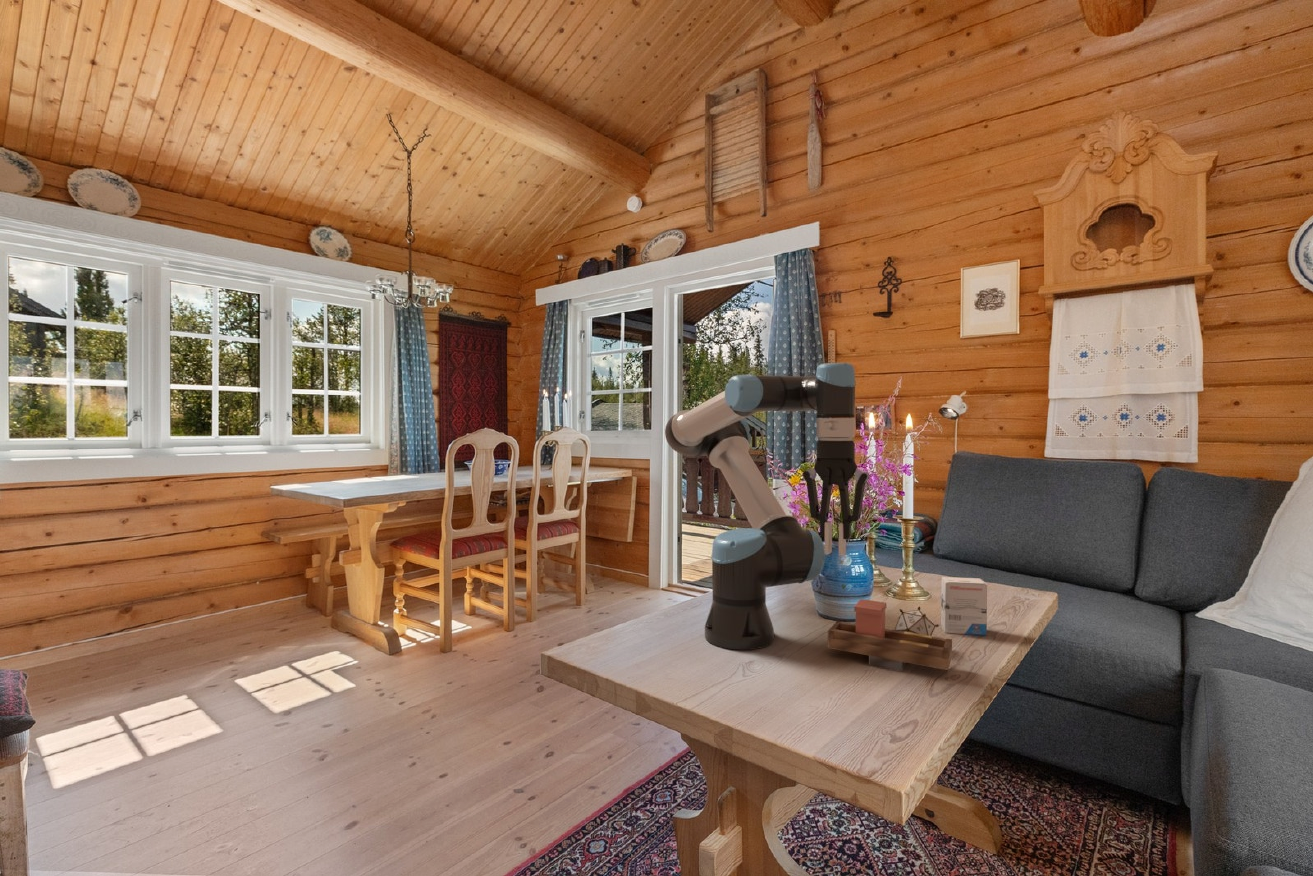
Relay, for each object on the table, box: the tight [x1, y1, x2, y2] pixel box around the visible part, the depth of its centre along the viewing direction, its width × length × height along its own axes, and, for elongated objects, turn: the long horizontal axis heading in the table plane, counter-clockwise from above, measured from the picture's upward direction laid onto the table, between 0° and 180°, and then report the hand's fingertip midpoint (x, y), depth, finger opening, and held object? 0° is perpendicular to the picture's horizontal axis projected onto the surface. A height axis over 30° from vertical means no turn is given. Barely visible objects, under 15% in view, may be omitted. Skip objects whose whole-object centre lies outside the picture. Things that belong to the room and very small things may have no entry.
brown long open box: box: [827, 620, 953, 673], centre depth 120 cm, size 22×7×6 cm, turn 59°
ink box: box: [940, 576, 988, 636], centre depth 137 cm, size 9×5×12 cm, turn 76°
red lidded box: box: [853, 598, 887, 638], centre depth 122 cm, size 5×6×7 cm
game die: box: [893, 606, 941, 637], centre depth 128 cm, size 9×8×10 cm
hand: (835, 553), depth 125 cm, fingers open, 2 cm apart
